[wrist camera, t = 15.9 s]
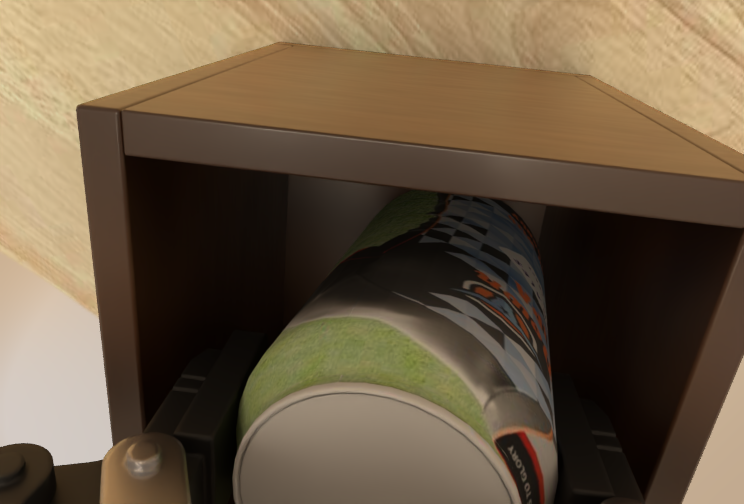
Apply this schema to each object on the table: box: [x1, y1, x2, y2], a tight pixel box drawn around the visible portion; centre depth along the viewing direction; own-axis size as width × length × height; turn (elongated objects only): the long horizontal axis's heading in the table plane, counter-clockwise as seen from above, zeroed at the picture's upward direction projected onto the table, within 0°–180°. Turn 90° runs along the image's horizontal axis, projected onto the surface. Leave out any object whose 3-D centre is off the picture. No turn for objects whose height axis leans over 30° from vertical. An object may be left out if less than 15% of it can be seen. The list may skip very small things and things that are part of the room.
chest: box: [76, 42, 744, 504], centre depth 19 cm, size 14×12×14 cm
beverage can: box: [232, 190, 558, 504], centre depth 15 cm, size 6×7×12 cm
